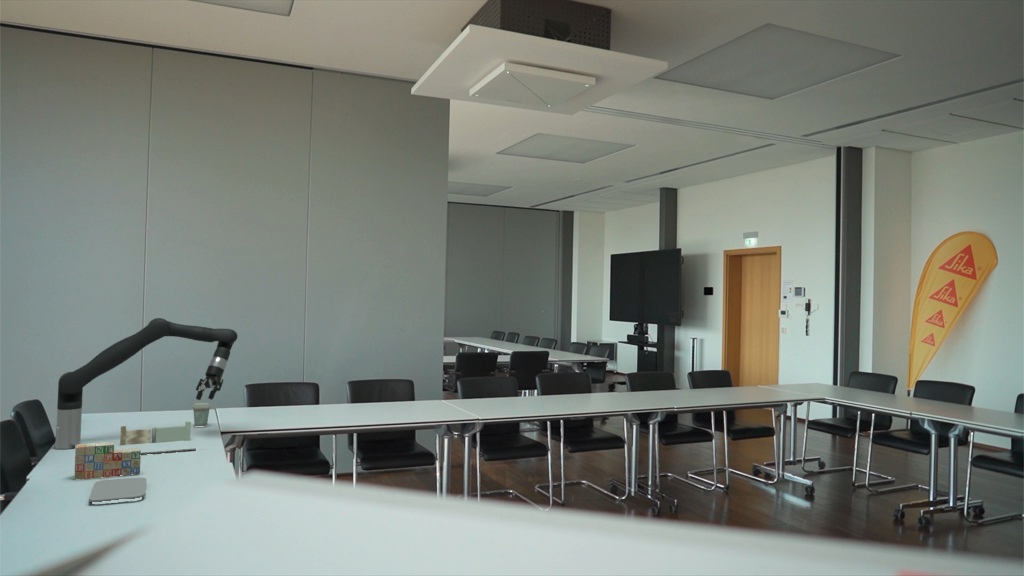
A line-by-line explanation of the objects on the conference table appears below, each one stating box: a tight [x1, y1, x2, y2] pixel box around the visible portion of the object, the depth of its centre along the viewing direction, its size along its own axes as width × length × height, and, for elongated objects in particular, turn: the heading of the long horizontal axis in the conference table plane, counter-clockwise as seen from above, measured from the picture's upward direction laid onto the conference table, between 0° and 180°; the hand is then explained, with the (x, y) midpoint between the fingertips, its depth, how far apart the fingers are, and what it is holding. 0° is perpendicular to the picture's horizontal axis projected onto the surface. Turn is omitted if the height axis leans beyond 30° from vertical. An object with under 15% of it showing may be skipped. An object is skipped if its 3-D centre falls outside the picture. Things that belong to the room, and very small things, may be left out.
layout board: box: [141, 448, 197, 456], centre depth 306 cm, size 30×27×1 cm
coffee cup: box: [192, 402, 211, 427], centre depth 358 cm, size 9×8×12 cm
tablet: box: [88, 477, 147, 502], centre depth 236 cm, size 16×26×2 cm, turn 27°
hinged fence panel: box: [150, 421, 192, 444], centre depth 314 cm, size 16×2×8 cm, turn 122°
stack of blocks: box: [73, 441, 142, 481], centre depth 258 cm, size 21×6×12 cm, turn 117°
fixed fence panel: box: [119, 425, 152, 446], centre depth 307 cm, size 12×2×8 cm, turn 122°
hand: (204, 399), depth 321 cm, fingers open, 8 cm apart
